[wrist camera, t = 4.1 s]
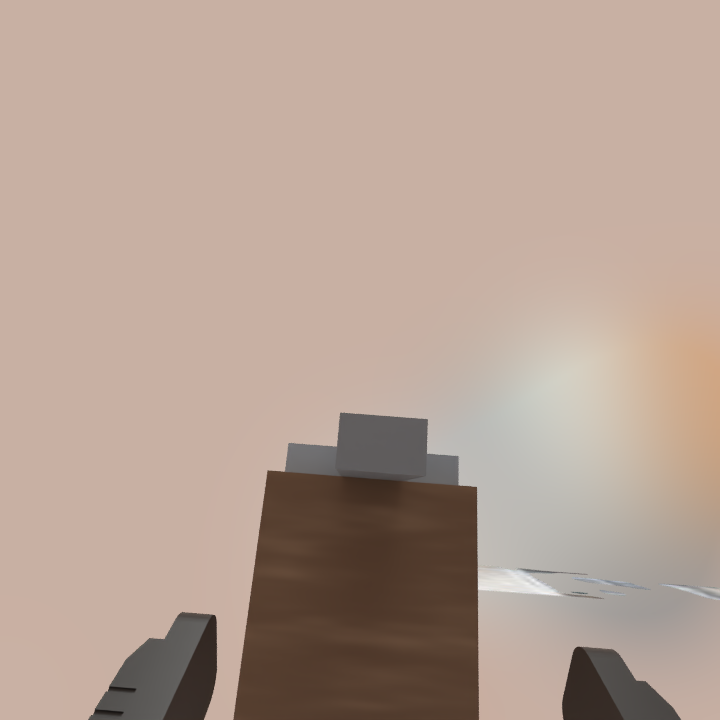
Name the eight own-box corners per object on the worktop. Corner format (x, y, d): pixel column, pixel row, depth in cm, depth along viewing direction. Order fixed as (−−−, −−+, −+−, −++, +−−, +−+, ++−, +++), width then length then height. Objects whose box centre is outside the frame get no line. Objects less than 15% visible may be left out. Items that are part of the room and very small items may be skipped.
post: (249, 877, 32) (296, 476, 41) (429, 894, 32) (437, 488, 41) (174, 1150, 19) (267, 470, 28) (482, 1181, 19) (476, 486, 28)
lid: (305, 477, 40) (308, 451, 41) (429, 487, 40) (429, 460, 41) (244, 461, 18) (253, 405, 19) (517, 483, 18) (515, 426, 19)
